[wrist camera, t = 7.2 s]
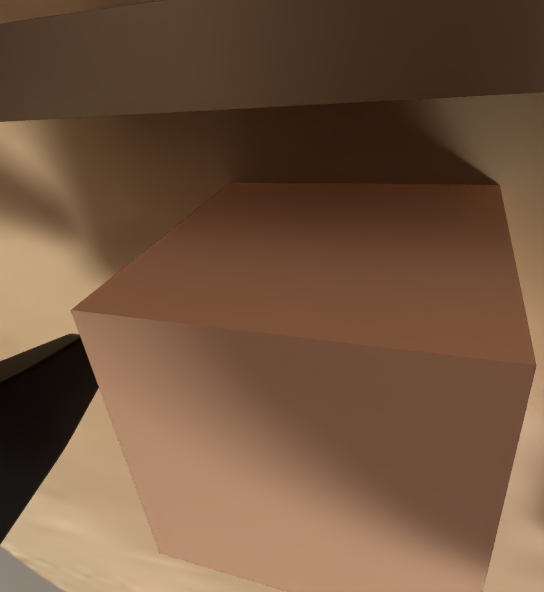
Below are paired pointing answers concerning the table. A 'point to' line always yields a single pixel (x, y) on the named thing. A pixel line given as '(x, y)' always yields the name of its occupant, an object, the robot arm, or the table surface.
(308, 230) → the light brown cube
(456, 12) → the walnut fence
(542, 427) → the table surface
